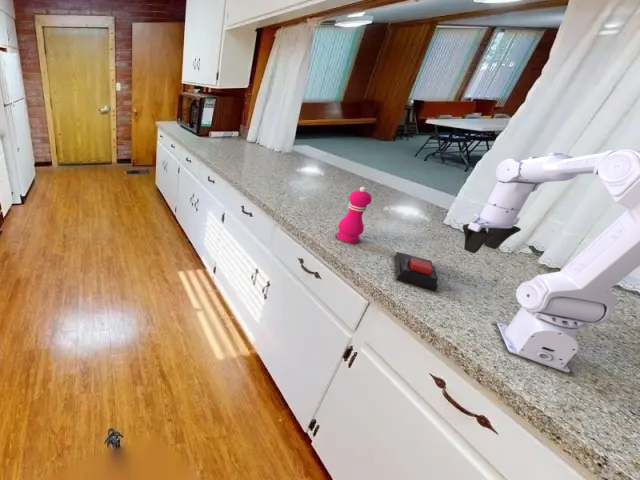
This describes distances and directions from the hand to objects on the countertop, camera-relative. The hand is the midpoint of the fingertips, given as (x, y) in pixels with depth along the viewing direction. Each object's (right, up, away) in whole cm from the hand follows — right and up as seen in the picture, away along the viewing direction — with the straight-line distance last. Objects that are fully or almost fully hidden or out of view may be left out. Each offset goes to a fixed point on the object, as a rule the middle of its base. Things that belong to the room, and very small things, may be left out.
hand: (479, 249), depth 81 cm
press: (-12, -8, +7) cm, 16 cm away
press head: (-14, -6, +3) cm, 16 cm away
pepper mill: (-19, -1, +24) cm, 31 cm away
